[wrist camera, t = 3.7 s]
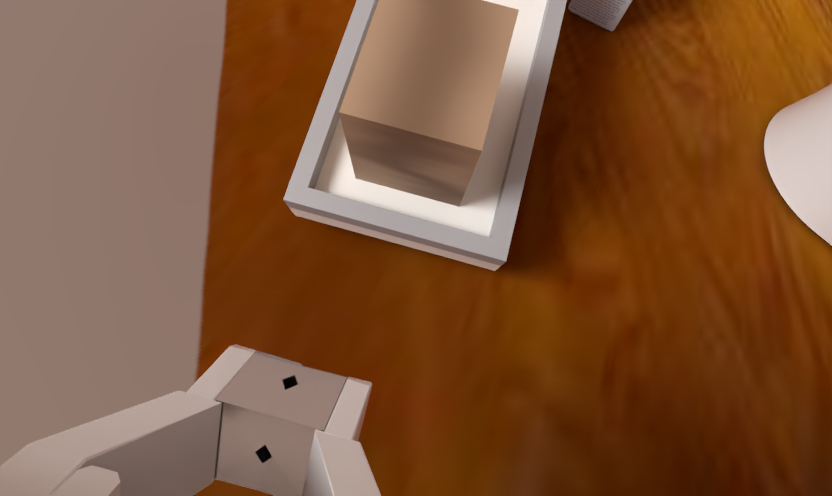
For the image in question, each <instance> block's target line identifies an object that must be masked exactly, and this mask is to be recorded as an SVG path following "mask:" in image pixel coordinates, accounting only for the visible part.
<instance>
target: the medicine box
mask: <svg viewBox="0 0 832 496" xmlns="http://www.w3.org/2000/svg"><path fill="white" fill-rule="evenodd" d="M632 1H633V0H571V1H570V3H569V5H568V9H569V11H570V12H572V13H574V14H576V15H578V16H580V17H582V18H584V19H586V20H588V21H590V22H592V23H594V24H596V25H598V26H600V27H602V28H604V29H606V30H609V31H614V29H615V28H616V26H617V25H618V23H619V22H620V20H621V18H622V17H623V15H624V13H625V12H626V10H627V9H628V7H629V5H630V4H631V2H632Z"/></svg>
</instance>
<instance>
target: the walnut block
mask: <svg viewBox="0 0 832 496" xmlns="http://www.w3.org/2000/svg"><path fill="white" fill-rule="evenodd" d="M518 12H519V10H518V9H514V8H510V7H507V6H503V5H499V4H495V3H491V2H487V1H484V0H379V1H378V4H377V7H376V9H375V12H374V15H373V18H372V21H371V23H370V26H369V29H368V32H367V35H366V37H365V40H364V43H363V46H362V49H361V51H360V54H359V57H358V60H357V63H356V66H355V68H354V71H353V74H352V77H351V80H350V82H349V85H348V88H347V91H346V94H345V96H344V99H343V102H342V105H341V108H340V111H339V115H340V118H341V122H342V126H343V130H344V134H345V138H346V142H347V146H348V150H349V154H350V158H351V162H352V166H353V170H354V174H355V178H356V179H360V180H363V181H367V182H370V183H374V184H378V185H381V186H385V187H389V188H392V189H396V190H400V191H403V192H407V193H411V194H414V195H418V196H421V197H425V198H429V199H432V200H436V201H440V202H443V203H447V204H451V205H454V206H458V207H459V206H460V204H461V201H462V199H463V196H464V194H465V191H466V189H467V186H468V184H469V181H470V179H471V177H472V174H473V172H474V169H475V167H476V164H477V162H478V159H479V157H480V154H481V152H482V149H483V145H484V141H485V137H486V134H487V130H488V126H489V122H490V118H491V115H492V111H493V107H494V103H495V99H496V96H497V92H498V88H499V84H500V80H501V77H502V73H503V69H504V65H505V61H506V57H507V54H508V50H509V46H510V42H511V38H512V35H513V31H514V27H515V23H516V19H517V16H518Z"/></svg>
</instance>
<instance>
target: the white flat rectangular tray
mask: <svg viewBox="0 0 832 496" xmlns="http://www.w3.org/2000/svg"><path fill="white" fill-rule="evenodd" d="M378 1H379V0H357V1H356V4H355V7H354V10H353V12H352V15H351V18H350V20H349V23H348V26H347V28H346V31H345V34H344V37H343V39H342V42H341V45H340V47H339V50H338V53H337V55H336V58H335V61H334V64H333V66H332V69H331V72H330V74H329V77H328V80H327V82H326V85H325V88H324V91H323V93H322V96H321V99H320V101H319V104H318V107H317V109H316V112H315V115H314V118H313V120H312V123H311V126H310V128H309V131H308V134H307V136H306V139H305V142H304V145H303V147H302V150H301V153H300V155H299V158H298V161H297V163H296V166H295V169H294V172H293V174H292V177H291V180H290V182H289V185H288V188H287V191H286V193H285V196H284V199H283V200H284V201H285V203H286V204H287V205H288V207H289V208H290V209H291V211H292V212H293V213H294V215H296V216H299V217H303V218H306V219H310V220H314V221H317V222H321V223H324V224H328V225H332V226H335V227H339V228H342V229H346V230H350V231H353V232H357V233H360V234H364V235H368V236H371V237H375V238H378V239H382V240H386V241H389V242H393V243H396V244H400V245H404V246H407V247H411V248H414V249H418V250H422V251H425V252H429V253H432V254H436V255H439V256H443V257H447V258H450V259H454V260H457V261H461V262H465V263H468V264H472V265H475V266H479V267H483V268H486V269H490V270H493V271H496V270H497V269H498V268H499V267H500V266H501V265H503V264H504V263H505V262H506V260H507V256H508V252H509V247H510V243H511V239H512V234H513V230H514V226H515V221H516V217H517V213H518V209H519V204H520V200H521V196H522V191H523V187H524V183H525V178H526V174H527V170H528V166H529V161H530V157H531V153H532V148H533V144H534V140H535V136H536V131H537V127H538V123H539V118H540V114H541V110H542V105H543V101H544V97H545V93H546V88H547V84H548V80H549V75H550V71H551V67H552V63H553V58H554V54H555V50H556V45H557V41H558V37H559V32H560V28H561V24H562V20H563V15H564V11H565V7H566V2H567V0H484V1H487V2H491V3H495V4H499V5H503V6H507V7H510V8H514V9H518V10H519V12H518V16H517V19H516V23H515V27H514V31H513V35H512V38H511V42H510V46H509V50H508V54H507V57H506V61H505V65H504V69H503V73H502V77H501V80H500V84H499V88H498V92H497V96H496V99H495V103H494V107H493V111H492V115H491V118H490V122H489V126H488V130H487V134H486V137H485V141H484V145H483V149H482V152H481V154H480V157H479V159H478V162H477V164H476V167H475V169H474V172H473V174H472V177H471V179H470V181H469V184H468V186H467V189H466V191H465V194H464V196H463V199H462V201H461V204H460V206H459V207H458V206H454V205H451V204H447V203H443V202H440V201H436V200H432V199H429V198H425V197H421V196H418V195H414V194H411V193H407V192H403V191H400V190H396V189H392V188H389V187H385V186H381V185H378V184H374V183H370V182H367V181H363V180H360V179H356V178H355V174H354V170H353V166H352V162H351V158H350V154H349V150H348V146H347V142H346V138H345V134H344V130H343V126H342V122H341V118H340V115H339V111H340V108H341V105H342V102H343V99H344V96H345V94H346V91H347V88H348V85H349V82H350V80H351V77H352V74H353V71H354V68H355V66H356V63H357V60H358V57H359V54H360V51H361V49H362V46H363V43H364V40H365V37H366V35H367V32H368V29H369V26H370V23H371V21H372V18H373V15H374V12H375V9H376V7H377V4H378Z"/></svg>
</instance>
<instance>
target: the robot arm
mask: <svg viewBox="0 0 832 496" xmlns="http://www.w3.org/2000/svg"><path fill="white" fill-rule="evenodd" d="M764 152H765V159H766V163H767V167H768V170H769V172H770V175H771V177H772V179H773V182H774V184H775V185H776V187H777V189H778V191H779V192H780V194H781V195H782V197H783V198H784V200H785V201H786V203H787V204H788V205H789V206H790V208H791V209H792V210H793V211H794V212H795V214H796V215H797V216H798V217H799V218H800V219H801V220H802V221H803V222H804V223H805V224H806V225H807V226H808V227H809V228H811V229H812V230H813V231H814V232H815V233H817V234H818V235H819V236H820V237H822V238H823V239H824V240H825V241H827V242H828V243H829V244H830V245H831V246H832V83H831V84H830V85H828V86H827V87H825V88H823V89H821V90H819V91H817V92H816V93H814V94H812V95H810V96H808V97H806V98H804V99H802V100H800V101H797V102H795V103H793V104H791V105H789V106H787V107H785V108H783V109H782V110H780V111H779V112H778V113H777V114H776V115H775V116H774V117H773V118H772V120H771V121H770V123H769V125H768V127H767V130H766V134H765V139H764ZM371 388H372V383H371V382H368V381H364V380H360V379H356V378H352V377H346V376H342V375H338V374H335V373H331V372H328V371H324V370H320V369H317V368H313V367H309V366H306V365H303V364H300V363H297V362H293V361H290V360H287V359H284V358H280V357H277V356H274V355H271V354H267V353H264V352H261V351H256V350H253V349H250V348H246V347H243V346H240V345H236V344H235V345H233V346H230V347H229V348H228V349H227V350H226V351H225V352H224V353H223V354H222V355H221V356H220V357H219V358H218V359H217V360H216V361H215V362H214V364H213V365H212V366H211V367H210V368H209V369H208V370H207V371H206V372H205V373H204V374H203V375H202V376H201V377H200V378H199V379H198V380H197V381H196V383H195V384H194V385H193V386H192V387H191V388H190V389H189V390H188V391H187V392H182V391H176V392H174V393H170V394H168V395H165V396H162V397H159V398H156V399H153V400H151V401H148V402H145V403H142V404H139V405H136V406H134V407H131V408H128V409H125V410H122V411H119V412H117V413H114V414H111V415H108V416H105V417H102V418H100V419H97V420H94V421H91V422H88V423H86V424H83V425H80V426H77V427H74V428H72V429H69V430H66V431H63V432H60V433H57V434H54V435H52V436H49V437H46V438H43V439H40V440H38V441H35V442H32V443H29V444H28V445H26V446H25V447H24V448H23V449H22V450H20V451H19V452H18V453H16V454H15V455H14V456H13V457H11V458H10V459H9V460H8V461H6V462H5V463H4V464H3V465H1V466H0V496H193V495H194V494H196V493H197V492H199V491H200V490H202V489H203V488H205V487H207V486H208V485H210V484H211V483H213V482H214V479H217V480H221V481H225V482H229V483H233V484H237V485H240V486H244V487H248V488H252V489H256V490H259V491H262V492H266V493H269V494H272V495H275V496H381V494H380V492H379V489H378V486H377V484H376V481H375V479H374V476H373V474H372V471H371V469H370V466H369V463H368V461H367V458H366V456H365V453H364V451H363V448H362V446H361V443H360V442H358V439H359V435H360V431H361V428H362V424H363V420H364V416H365V412H366V408H367V404H368V400H369V396H370V392H371Z"/></svg>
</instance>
